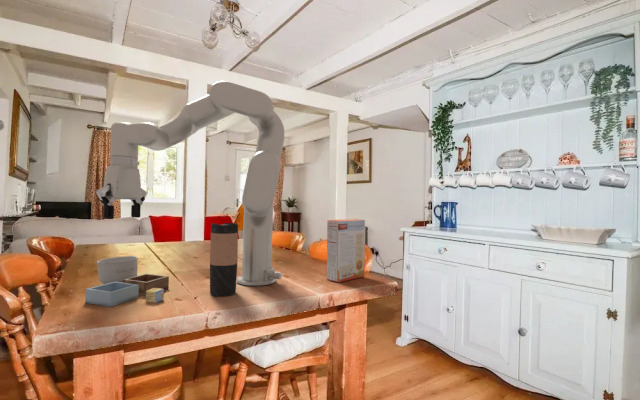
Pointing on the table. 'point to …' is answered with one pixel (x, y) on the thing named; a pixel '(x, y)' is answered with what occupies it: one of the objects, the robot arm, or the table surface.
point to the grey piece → (117, 269)
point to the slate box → (111, 293)
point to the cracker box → (345, 249)
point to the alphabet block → (154, 295)
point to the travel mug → (223, 259)
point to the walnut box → (148, 282)
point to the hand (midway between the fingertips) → (122, 218)
